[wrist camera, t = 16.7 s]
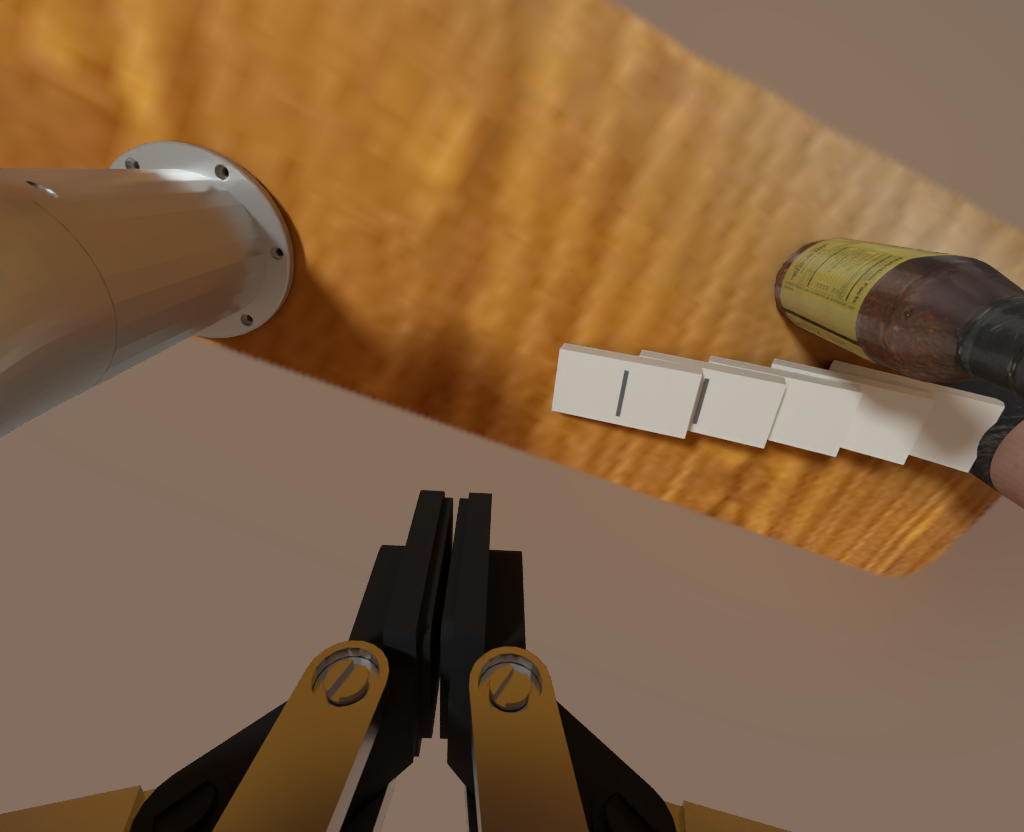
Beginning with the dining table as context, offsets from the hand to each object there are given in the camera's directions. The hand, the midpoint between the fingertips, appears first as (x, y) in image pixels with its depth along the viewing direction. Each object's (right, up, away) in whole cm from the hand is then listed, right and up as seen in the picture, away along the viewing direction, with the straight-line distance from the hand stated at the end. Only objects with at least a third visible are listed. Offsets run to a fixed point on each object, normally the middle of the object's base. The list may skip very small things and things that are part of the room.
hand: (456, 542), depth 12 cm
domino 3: (+16, +5, +27) cm, 32 cm away
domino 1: (+5, +6, +26) cm, 28 cm away
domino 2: (+11, +6, +27) cm, 29 cm away
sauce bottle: (+23, +13, +24) cm, 36 cm away
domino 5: (+26, +5, +27) cm, 38 cm away
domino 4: (+21, +5, +27) cm, 35 cm away
